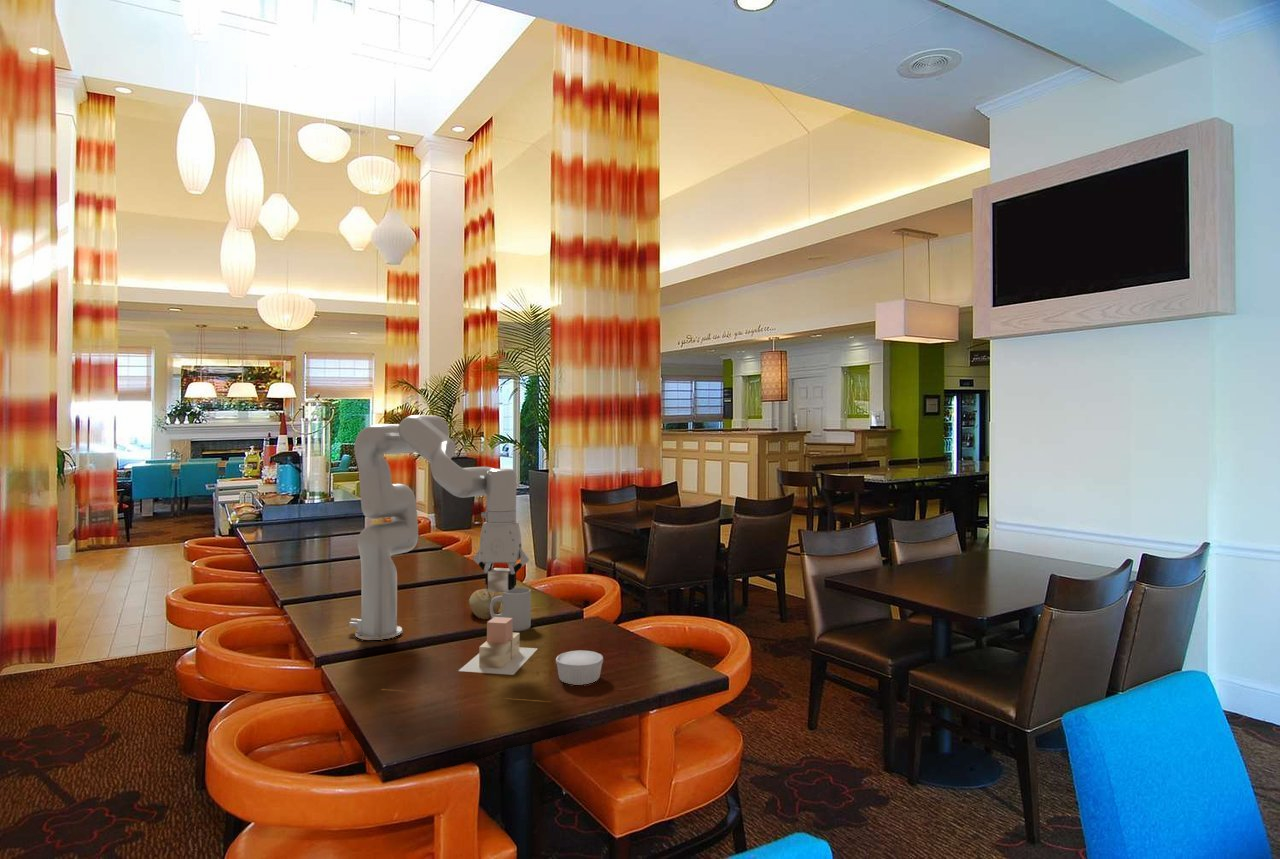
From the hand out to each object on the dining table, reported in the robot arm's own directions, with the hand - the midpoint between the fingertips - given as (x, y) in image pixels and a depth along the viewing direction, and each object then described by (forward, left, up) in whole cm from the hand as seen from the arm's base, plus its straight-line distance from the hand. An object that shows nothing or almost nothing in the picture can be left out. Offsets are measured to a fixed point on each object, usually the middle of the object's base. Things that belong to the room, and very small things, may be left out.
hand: (500, 587), depth 179 cm
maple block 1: (0, -3, -18) cm, 19 cm away
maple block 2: (0, +4, -18) cm, 19 cm away
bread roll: (-20, +40, -19) cm, 49 cm away
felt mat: (0, 0, -19) cm, 19 cm away
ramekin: (+23, -9, -19) cm, 31 cm away
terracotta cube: (0, 0, -13) cm, 13 cm away
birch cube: (0, 0, -1) cm, 1 cm away
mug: (-7, +28, -19) cm, 34 cm away
